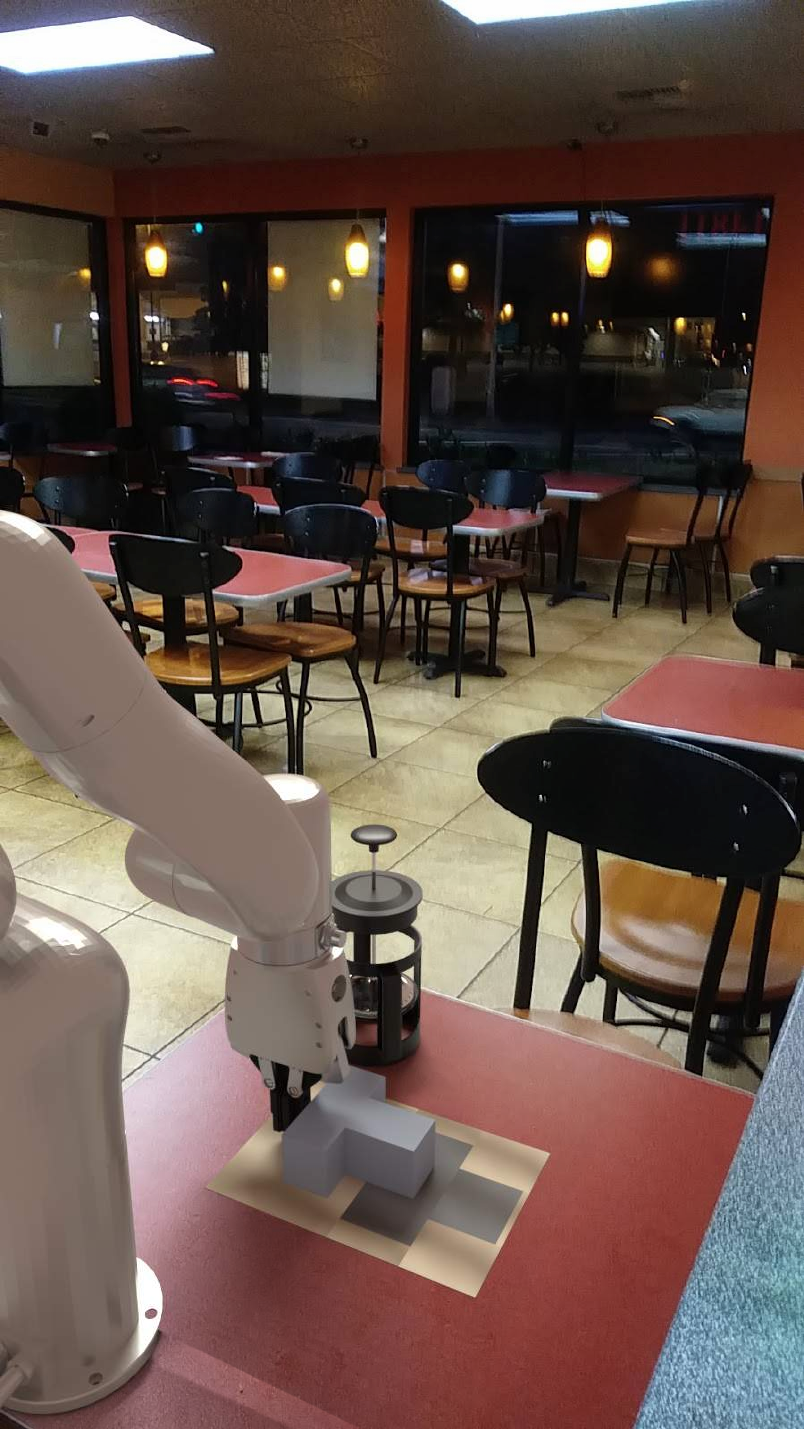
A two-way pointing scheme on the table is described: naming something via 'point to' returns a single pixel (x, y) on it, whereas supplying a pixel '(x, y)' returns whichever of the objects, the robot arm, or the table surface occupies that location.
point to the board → (404, 1201)
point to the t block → (358, 1140)
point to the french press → (377, 988)
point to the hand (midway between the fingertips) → (291, 1122)
